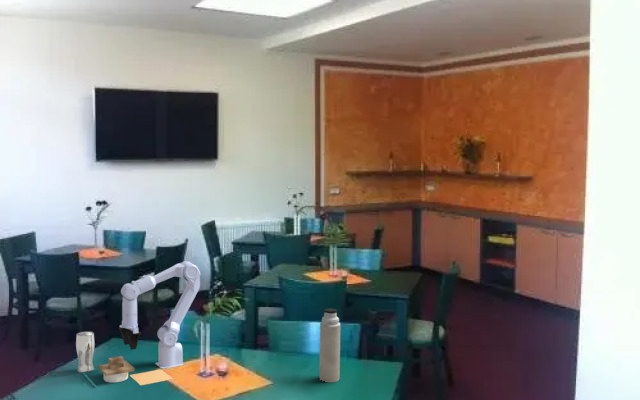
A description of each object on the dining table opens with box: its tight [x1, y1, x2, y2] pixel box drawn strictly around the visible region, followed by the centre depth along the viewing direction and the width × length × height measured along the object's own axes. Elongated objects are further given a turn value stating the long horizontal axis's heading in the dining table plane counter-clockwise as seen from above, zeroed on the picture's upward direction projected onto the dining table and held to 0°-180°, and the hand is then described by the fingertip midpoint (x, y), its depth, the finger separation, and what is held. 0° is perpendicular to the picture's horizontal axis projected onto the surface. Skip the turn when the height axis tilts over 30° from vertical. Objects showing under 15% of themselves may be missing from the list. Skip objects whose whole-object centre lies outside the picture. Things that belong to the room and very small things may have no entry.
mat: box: [129, 368, 174, 386], centre depth 256 cm, size 13×13×1 cm
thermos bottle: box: [318, 308, 341, 383], centre depth 257 cm, size 8×8×28 cm
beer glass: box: [75, 331, 95, 374], centre depth 263 cm, size 7×7×15 cm
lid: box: [97, 355, 136, 376], centre depth 254 cm, size 11×11×4 cm
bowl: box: [103, 372, 129, 383], centre depth 254 cm, size 9×9×4 cm
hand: (130, 346), depth 263 cm, fingers open, 7 cm apart
